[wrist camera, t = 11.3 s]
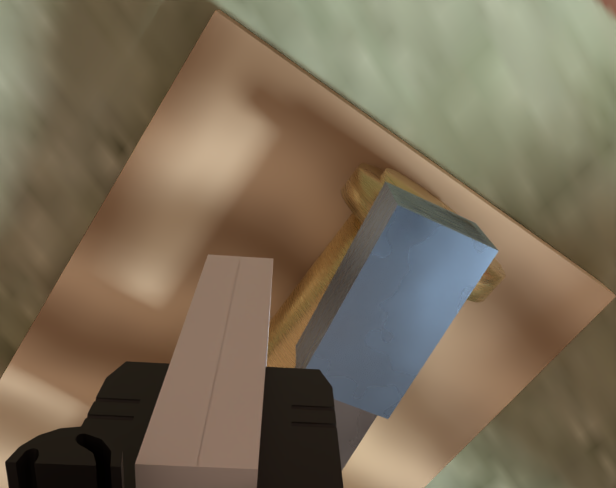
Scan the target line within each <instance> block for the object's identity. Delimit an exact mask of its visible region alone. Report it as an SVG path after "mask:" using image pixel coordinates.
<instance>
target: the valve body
mask: <svg viewBox="0 0 616 488" xmlns="http://www.w3.org/2000/svg"><path fill="white" fill-rule="evenodd" d="M385 181H386V182H388V183H390V184H392V185H395V186H397V187H399V188H401V189H403V190H405V191H407V192H410V193H412V194H414V195H416V196H418V197H420V198H423V199H425V200H427V201H429V202H431V203H433V204H436V205H438V206H440V207H442V208H444V209H446V210H449V211H451V212H453V213H455V214H457V213H456V212H455V211H453V210H452V209H451V208H450V207H448V206H447V205H446V204H445V203H443V202H442V201H441V200H439V199H438V198H437V197H436V196H434V195H433V194H431V193H430V192H429V191H427V190H426V189H424V188H423V187H422V186H420V185H419V184H417V183H416V182H414V181H413V180H411V179H409V178H408V177H406V176H404V175H403V174H401V173H399V172H397V171H395V170H393V169H390V168H386V169H385V171H384V172H383V171H382V170H381V169H379V168H377V167H375V166H372V165H370V164H366V163H361V164H360V165H359V166H358V167H357V169H356V170H355V171H354V173H353V174H352V175H351V177H350V178H349V179H348V181H347V182H346V183H345V185H344V186H343V187H342V189H341V195H342V197H343V199H344V201H345V203H346V204H347V206H348V207H349V209H350V210H351V211H352V212H353V213H352V214H351V215H350V217H349V218H348V219H347V220H346V222H345V223H344V224H343V226H342V227H341V228H340V230H339V231H338V232H337V234H336V235H335V236H334V238H333V239H332V240H331V242H330V243H329V244H328V245H327V247H326V248H325V249H324V251H323V252H322V253H321V255H320V256H319V257H318V259H317V260H316V261H315V263H314V264H313V265H312V266H311V268H310V269H309V270H308V272H307V273H306V274H305V276H304V277H303V278H302V280H301V281H300V282H299V284H298V285H297V286H296V288H295V289H294V290H293V291H292V293H291V294H290V295H289V297H288V298H287V299H286V301H285V302H284V303H283V305H282V306H281V307H280V309H279V310H278V311H277V312H276V314H275V315H274V316H273V318H272V319H271V320H270V322H269V337H268V353H267V367H283V368H294V367H295V366H296V344H297V343H298V341H299V339H300V337H301V335H302V333H303V332H304V330H305V328H306V326H307V324H308V322H309V321H310V319H311V317H312V315H313V313H314V311H315V310H316V308H317V306H318V304H319V302H320V300H321V299H322V297H323V295H324V293H325V291H326V289H327V288H328V286H329V284H330V282H331V280H332V278H333V277H334V275H335V273H336V271H337V269H338V267H339V266H340V264H341V262H342V260H343V258H344V256H345V255H346V253H347V251H348V249H349V247H350V245H351V244H352V242H353V240H354V238H355V236H356V234H357V233H358V231H359V229H360V227H361V225H362V223H363V222H364V220H365V218H366V216H367V214H368V212H369V211H370V209H371V207H372V205H373V203H374V201H375V200H376V198H377V196H378V194H379V192H380V190H381V189H382V187H383V185H384V183H385ZM457 215H458V214H457ZM505 277H506V274H505V272H504V270H503V268H502V267H501V265H500V264H499V263H498V262H497V260H496V259H495V258H494V259H493V260H492V262H491V263H490V265H489V266H488V268H487V269H486V271H485V272H484V274H483V275H482V277H481V279H480V280H479V282H478V283H477V285H476V286H475V288H474V289H473V291H472V292H471V294H470V295H469V297H468V298H467V300H468V301H472V302H477V303H481V302H483V301H484V300H485V299H486V298H487V297H488V296H489V295H490V294H491V292H492V291H493V290H494V289H495V288H496V287H497V286H498V285H499V284H500V283H501V281H502V280H503V279H504V278H505Z"/></svg>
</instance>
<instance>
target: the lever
mask: <svg viewBox="0 0 616 488" xmlns="http://www.w3.org/2000/svg"><path fill="white" fill-rule="evenodd" d="M497 253H498V249H497V248H496V247H495V246H494V245H493V243H492V242H491V241H490V240H489V239H488V237H487V236H486V235H485V234H484V233H483V231H482V230H481V229H480V228H479V226H478V225H477V224H476V223H474V222H472V221H470V220H468V219H466V218H464V217H462V216H459V215H457V214H455V213H453V212H451V211H449V210H446V209H444V208H442V207H440V206H438V205H436V204H433V203H431V202H429V201H427V200H425V199H423V198H420V197H418V196H416V195H414V194H412V193H410V192H407V191H405V190H403V189H401V188H399V187H397V186H395V185H392V184H390V183H388V182H386V181H385V183H384V185H383V187H382V189H381V190H380V192H379V194H378V196H377V198H376V200H375V201H374V203H373V205H372V207H371V209H370V211H369V212H368V214H367V216H366V218H365V220H364V222H363V223H362V225H361V227H360V229H359V231H358V233H357V234H356V236H355V238H354V240H353V242H352V244H351V245H350V247H349V249H348V251H347V253H346V255H345V256H344V258H343V260H342V262H341V264H340V266H339V267H338V269H337V271H336V273H335V275H334V277H333V278H332V280H331V282H330V284H329V286H328V288H327V289H326V291H325V293H324V295H323V297H322V299H321V300H320V302H319V304H318V306H317V308H316V310H315V311H314V313H313V315H312V317H311V319H310V321H309V322H308V324H307V326H306V328H305V330H304V332H303V333H302V335H301V337H300V339H299V341H298V343H297V344H296V366H295V367H294V368H302V369H319V370H320V371H321V372H322V374H323V375H324V376H325V378H326V379H327V380H328V382H329V383H330V384H331V386H332V387H333V396H334V406H335V415H336V428H337V433H338V442H339V451H340V460H341V469H342V470H343V468H344V467H345V465H346V464H347V462H348V460H349V459H350V457H351V456H352V454H353V453H354V451H355V450H356V448H357V447H358V445H359V443H360V442H361V440H362V439H363V437H364V436H365V434H366V433H367V431H368V429H369V428H370V426H371V425H372V423H373V422H374V420H375V419H376V417H377V416H381V417H383V418H386V419H389V417H390V416H391V414H392V413H393V411H394V410H395V408H396V407H397V405H398V404H399V402H400V400H401V399H402V397H403V396H404V394H405V393H406V391H407V390H408V388H409V387H410V385H411V384H412V382H413V381H414V379H415V378H416V376H417V375H418V373H419V372H420V370H421V368H422V367H423V365H424V364H425V362H426V361H427V359H428V358H429V356H430V355H431V353H432V352H433V350H434V349H435V347H436V346H437V344H438V343H439V341H440V340H441V338H442V336H443V335H444V333H445V332H446V330H447V329H448V327H449V326H450V324H451V323H452V321H453V320H454V318H455V317H456V315H457V314H458V312H459V311H460V309H461V308H462V306H463V304H464V303H465V301H466V300H467V298H468V297H469V295H470V294H471V292H472V291H473V289H474V288H475V286H476V285H477V283H478V282H479V280H480V279H481V277H482V275H483V274H484V272H485V271H486V269H487V268H488V266H489V265H490V263H491V262H492V260H493V259H494V257H495V256H496V254H497Z"/></svg>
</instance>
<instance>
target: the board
mask: <svg viewBox="0 0 616 488" xmlns="http://www.w3.org/2000/svg"><path fill="white" fill-rule="evenodd" d="M361 163H366V164H370V165H372V166H375V167H377V168H379V169H381V170H382V171H383V172H384V171H385V169H386V168H390V169H393V170H395V171H397V172H399V173H401V174H403V175H404V176H406V177H408V178H409V179H411V180H413V181H414V182H416V183H417V184H419V185H420V186H422V187H423V188H424V189H426V190H427V191H429V192H430V193H431V194H433V195H434V196H436V197H437V198H438V199H439V200H441V201H442V202H443V203H445V204H446V205H447V206H448V207H450V208H451V209H452V210H453V211H455V212H456V213H457V214H458V215H459V216H462V217H464V218H466V219H468V220H470V221H472V222H474V223H476V224H477V225H478V226H479V228H480V229H481V230H482V231H483V233H484V234H485V235H486V236H487V237H488V239H489V240H490V241H491V242H492V243H493V245H494V246H495V247H496V248H497V249H498V253H497V254H496V256H495V257H494V258H495V259H496V260H497V262H498V263H499V264H500V265H501V267H502V268H503V270H504V272H505V274H506V277H505V278H504V279H503V280H502V281H501V283H500V284H499V285H498V286H497V287H496V288H495V289H494V290H493V291H492V292H491V294H490V295H489V296H488V297H487V298H486V299H485V300H484V301H483V302H481V303H477V302H472V301H468V300H466V301H465V303H464V304H463V306H462V308H461V309H460V311H459V312H458V314H457V315H456V317H455V318H454V320H453V321H452V323H451V324H450V326H449V327H448V329H447V330H446V332H445V333H444V335H443V336H442V338H441V340H440V341H439V343H438V344H437V346H436V347H435V349H434V350H433V352H432V353H431V355H430V356H429V358H428V359H427V361H426V362H425V364H424V365H423V367H422V368H421V370H420V372H419V373H418V375H417V376H416V378H415V379H414V381H413V382H412V384H411V385H410V387H409V388H408V390H407V391H406V393H405V394H404V396H403V397H402V399H401V400H400V402H399V404H398V405H397V407H396V408H395V410H394V411H393V413H392V414H391V416H390V417H389V419H386V418H383V417H381V416H377V417H376V419H375V420H374V422H373V423H372V425H371V426H370V428H369V429H368V431H367V433H366V434H365V436H364V437H363V439H362V440H361V442H360V443H359V445H358V447H357V448H356V450H355V451H354V453H353V454H352V456H351V457H350V459H349V460H348V462H347V464H346V465H345V467H344V468H343V470H342V478H343V488H424V487H425V486H426V485H427V484H428V483H429V482H430V481H431V480H432V479H433V478H434V477H435V476H436V475H437V474H438V473H439V472H440V471H441V470H442V469H443V468H444V467H445V466H446V465H447V464H448V463H449V462H450V461H451V460H452V459H453V458H454V457H455V456H456V455H457V454H458V453H459V452H460V451H461V450H462V449H463V448H464V447H465V446H466V445H467V444H468V443H469V442H470V441H471V440H472V439H473V438H474V437H475V436H476V435H477V434H478V433H479V432H480V431H481V430H482V429H483V428H484V427H485V426H486V425H487V424H488V423H489V422H490V421H491V420H492V419H493V418H494V417H495V416H496V415H497V414H498V413H499V412H500V411H501V410H502V409H503V408H504V407H505V406H506V405H507V404H508V403H509V402H511V401H512V400H513V399H514V398H515V397H516V396H517V395H518V394H519V393H520V392H521V391H522V390H523V389H524V388H525V387H526V386H527V385H528V384H529V383H530V382H531V381H532V380H533V379H534V378H535V377H536V376H537V375H538V374H539V373H540V372H541V371H542V370H543V369H544V368H545V367H546V366H547V365H548V364H549V363H550V362H551V361H552V360H553V359H554V358H555V357H556V356H557V355H558V354H559V353H560V352H561V351H562V350H563V349H564V348H565V347H566V346H567V345H568V344H569V343H570V342H571V341H572V340H573V339H574V338H575V337H576V336H577V335H578V334H579V333H580V332H581V331H582V330H583V329H584V328H585V327H586V326H587V325H588V324H589V323H590V322H591V321H592V320H593V319H594V318H595V317H596V316H597V315H598V314H599V313H600V312H601V311H602V310H603V309H604V308H605V307H606V306H607V305H608V304H609V303H610V302H611V301H612V300H613V299H614V298H615V297H616V295H615V294H614V293H613V292H611V291H610V290H609V289H608V288H607V287H606V286H605V285H604V284H603V283H602V282H600V281H599V280H598V279H596V278H595V277H593V276H592V275H591V274H589V273H588V272H586V271H585V270H584V269H582V268H581V267H579V266H578V265H577V264H575V263H574V262H572V261H571V260H570V259H568V258H567V257H565V256H564V255H563V254H561V253H560V252H558V251H557V250H556V249H554V248H553V247H551V246H550V245H549V244H547V243H546V242H544V241H543V240H542V239H540V238H539V237H537V236H536V235H535V234H533V233H532V232H530V231H529V230H528V229H526V228H525V227H523V226H522V225H521V224H519V223H518V222H516V221H515V220H514V219H512V218H511V217H509V216H508V215H507V214H505V213H504V212H502V211H501V210H500V209H498V208H497V207H495V206H494V205H493V204H491V203H490V202H488V201H487V200H486V199H484V198H483V197H481V196H480V195H479V194H477V193H476V192H474V191H473V190H472V189H470V188H469V187H467V186H466V185H465V184H463V183H462V182H460V181H459V180H458V179H456V178H455V177H453V176H452V175H451V174H449V173H448V172H446V171H445V170H444V169H442V168H441V167H439V166H438V165H437V164H435V163H434V162H432V161H431V160H430V159H428V158H427V157H425V156H424V155H423V154H421V153H420V152H418V151H417V150H416V149H414V148H413V147H411V146H410V145H409V144H407V143H406V142H404V141H403V140H402V139H400V138H399V137H397V136H396V135H395V134H393V133H392V132H390V131H389V130H388V129H386V128H385V127H383V126H382V125H381V124H379V123H378V122H376V121H375V120H374V119H372V118H371V117H369V116H368V115H367V114H365V113H364V112H362V111H361V110H360V109H358V108H357V107H355V106H354V105H353V104H351V103H350V102H348V101H347V100H346V99H344V98H343V97H341V96H340V95H339V94H337V93H336V92H334V91H333V90H332V89H330V88H329V87H327V86H326V85H325V84H323V83H322V82H320V81H319V80H318V79H316V78H315V77H313V76H312V75H311V74H309V73H308V72H306V71H305V70H304V69H302V68H301V67H299V66H298V65H297V64H295V63H294V62H292V61H291V60H290V59H288V58H287V57H285V56H284V55H283V54H281V53H280V52H278V51H277V50H276V49H274V48H273V47H271V46H270V45H269V44H267V43H266V42H264V41H263V40H262V39H260V38H259V37H257V36H256V35H255V34H253V33H252V32H250V31H249V30H248V29H246V28H245V27H243V26H242V25H241V24H239V23H238V22H236V21H235V20H234V19H232V18H231V17H229V16H228V15H227V14H225V13H224V12H222V11H221V10H215V11H214V13H213V15H212V17H211V18H210V20H209V22H208V23H207V25H206V27H205V29H204V30H203V32H202V34H201V36H200V37H199V39H198V41H197V42H196V44H195V46H194V48H193V49H192V51H191V53H190V54H189V56H188V58H187V60H186V61H185V63H184V65H183V66H182V68H181V70H180V72H179V73H178V75H177V77H176V78H175V80H174V82H173V84H172V85H171V87H170V89H169V90H168V92H167V94H166V96H165V97H164V99H163V101H162V102H161V104H160V106H159V108H158V109H157V111H156V113H155V114H154V116H153V118H152V120H151V121H150V123H149V125H148V126H147V128H146V130H145V132H144V133H143V135H142V137H141V138H140V140H139V142H138V144H137V145H136V147H135V149H134V151H133V152H132V154H131V156H130V157H129V159H128V161H127V163H126V164H125V166H124V168H123V169H122V171H121V173H120V175H119V176H118V178H117V180H116V181H115V183H114V185H113V187H112V188H111V190H110V192H109V193H108V195H107V197H106V199H105V200H104V202H103V204H102V205H101V207H100V209H99V211H98V212H97V214H96V216H95V217H94V219H93V221H92V223H91V224H90V226H89V228H88V229H87V231H86V233H85V235H84V236H83V238H82V240H81V241H80V243H79V245H78V247H77V248H76V250H75V252H74V253H73V255H72V257H71V259H70V260H69V262H68V264H67V266H66V267H65V269H64V271H63V272H62V274H61V276H60V278H59V279H58V281H57V283H56V284H55V286H54V288H53V290H52V291H51V293H50V295H49V296H48V298H47V300H46V302H45V303H44V305H43V307H42V308H41V310H40V312H39V314H38V315H37V317H36V319H35V320H34V322H33V324H32V326H31V327H30V329H29V331H28V332H27V334H26V336H25V338H24V339H23V341H22V343H21V344H20V346H19V348H18V350H17V351H16V353H15V355H14V356H13V358H12V360H11V362H10V363H9V365H8V367H7V368H6V370H5V372H4V374H3V375H2V377H1V379H0V488H9V486H8V480H7V473H6V466H5V461H6V460H7V459H8V458H9V457H10V456H11V455H12V454H13V453H14V452H15V451H16V450H17V449H18V447H20V446H21V445H23V444H25V443H26V442H28V441H30V440H31V439H33V438H35V437H36V436H38V435H41V434H44V433H47V432H50V431H53V430H56V429H59V428H68V427H81V426H82V424H83V422H84V420H85V418H87V414H88V412H89V410H90V408H91V406H92V404H93V402H94V401H96V396H97V394H98V392H99V390H100V388H101V386H102V384H103V383H104V381H105V379H106V377H107V376H109V375H110V374H111V373H112V372H114V371H115V370H116V369H117V368H119V367H120V366H121V365H122V364H124V363H125V362H126V361H131V362H150V363H169V364H170V362H171V359H172V356H173V353H174V350H175V348H176V345H177V342H178V339H179V336H180V333H181V330H182V327H183V325H184V322H185V319H186V316H187V313H188V310H189V307H190V305H191V302H192V299H193V296H194V293H195V290H196V287H197V284H198V282H199V279H200V276H201V273H202V270H203V267H204V264H205V262H206V259H207V256H208V254H209V255H225V256H241V257H257V258H273V272H272V288H271V304H270V320H271V319H272V318H273V316H274V315H275V314H276V312H277V311H278V310H279V309H280V307H281V306H282V305H283V303H284V302H285V301H286V299H287V298H288V297H289V295H290V294H291V293H292V291H293V290H294V289H295V288H296V286H297V285H298V284H299V282H300V281H301V280H302V278H303V277H304V276H305V274H306V273H307V272H308V270H309V269H310V268H311V266H312V265H313V264H314V263H315V261H316V260H317V259H318V257H319V256H320V255H321V253H322V252H323V251H324V249H325V248H326V247H327V245H328V244H329V243H330V242H331V240H332V239H333V238H334V236H335V235H336V234H337V232H338V231H339V230H340V228H341V227H342V226H343V224H344V223H345V222H346V220H347V219H348V218H349V217H350V215H351V214H352V213H353V212H352V211H351V210H350V209H349V207H348V206H347V204H346V203H345V201H344V199H343V197H342V195H341V189H342V187H343V186H344V185H345V183H346V182H347V181H348V179H349V178H350V177H351V175H352V174H353V173H354V171H355V170H356V169H357V167H358V166H359V165H360V164H361ZM269 322H270V321H269Z"/></svg>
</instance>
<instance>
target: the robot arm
mask: <svg viewBox="0 0 616 488" xmlns="http://www.w3.org/2000/svg"><path fill="white" fill-rule="evenodd" d="M272 272H273V258H257V257H241V256H225V255H209V254H208V256H207V259H206V262H205V264H204V267H203V270H202V273H201V276H200V279H199V282H198V284H197V287H196V290H195V293H194V296H193V299H192V302H191V305H190V307H189V310H188V313H187V316H186V319H185V322H184V325H183V327H182V330H181V333H180V336H179V339H178V342H177V345H176V348H175V350H174V353H173V356H172V359H171V362H170V364H169V363H150V362H131V361H126V362H125V363H124V364H122V365H121V366H120V367H119V368H117V369H116V370H115V371H114V372H112V373H111V374H110V375H109V376H107V377H106V379H105V381H104V383H103V384H102V386H101V388H100V390H99V392H98V394H97V396H96V401H94V402H93V404H92V406H91V408H90V410H89V412H88V414H87V418H85V420H84V422H83V424H82V426H81V427H68V428H59V429H56V430H53V431H50V432H47V433H44V434H41V435H38V436H36V437H35V438H33V439H31V440H30V441H28V442H26V443H25V444H23V445H21V446H20V447H18V449H17V450H16V451H15V452H14V453H13V454H12V455H11V456H10V457H9V458H8V459H7V460H6V461H5V466H6V473H7V480H8V486H9V488H343V478H342V469H341V460H340V451H339V442H338V433H337V428H336V415H335V406H334V396H333V387H332V386H331V384H330V383H329V382H328V380H327V379H326V378H325V376H324V375H323V374H322V372H321V371H320V370H319V369H302V368H283V367H267V353H268V337H269V321H270V304H271V288H272Z"/></svg>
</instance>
